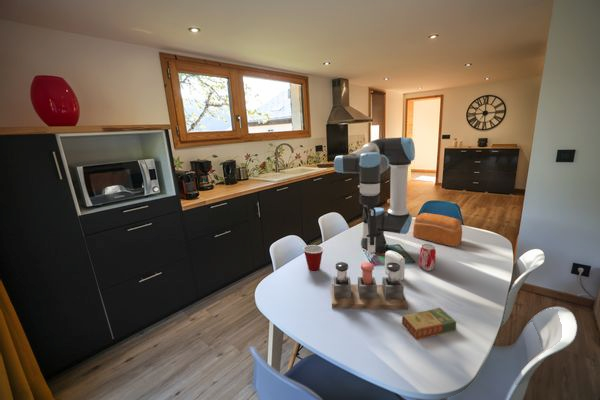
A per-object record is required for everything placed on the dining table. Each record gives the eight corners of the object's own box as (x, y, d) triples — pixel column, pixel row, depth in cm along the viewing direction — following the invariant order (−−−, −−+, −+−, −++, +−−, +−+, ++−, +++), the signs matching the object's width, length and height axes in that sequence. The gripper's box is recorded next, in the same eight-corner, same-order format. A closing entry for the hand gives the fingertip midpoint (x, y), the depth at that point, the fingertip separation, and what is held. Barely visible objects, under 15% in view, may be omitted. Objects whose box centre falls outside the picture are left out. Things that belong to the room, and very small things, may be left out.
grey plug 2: (383, 282, 112) (384, 263, 110) (395, 281, 113) (395, 261, 111) (389, 289, 107) (390, 269, 105) (401, 287, 108) (402, 267, 106)
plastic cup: (328, 267, 140) (327, 246, 137) (317, 276, 132) (316, 254, 129) (311, 262, 146) (310, 242, 143) (300, 270, 138) (298, 249, 135)
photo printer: (383, 272, 132) (383, 249, 129) (389, 269, 134) (390, 247, 131) (398, 282, 123) (400, 258, 120) (405, 279, 125) (406, 255, 122)
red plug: (358, 282, 114) (358, 263, 111) (370, 280, 114) (370, 261, 112) (363, 289, 109) (364, 269, 106) (375, 287, 109) (376, 267, 107)
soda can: (436, 272, 130) (438, 249, 127) (420, 271, 131) (422, 249, 128) (432, 265, 136) (433, 243, 133) (417, 264, 138) (419, 243, 135)
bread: (419, 231, 181) (421, 209, 177) (463, 241, 162) (465, 216, 158) (411, 237, 172) (412, 214, 168) (455, 248, 153) (458, 222, 149)
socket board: (331, 307, 108) (331, 290, 106) (331, 287, 122) (331, 272, 120) (407, 309, 105) (409, 291, 103) (399, 289, 118) (399, 273, 116)
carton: (401, 324, 98) (401, 314, 97) (439, 316, 101) (439, 306, 100) (415, 341, 90) (416, 330, 89) (456, 331, 93) (457, 320, 92)
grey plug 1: (334, 282, 115) (334, 263, 112) (345, 280, 116) (345, 261, 113) (338, 288, 110) (337, 269, 107) (350, 287, 111) (350, 267, 108)
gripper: (356, 186, 114) (356, 232, 119) (363, 202, 90) (363, 258, 95) (374, 186, 113) (373, 232, 118) (386, 201, 89) (384, 258, 94)
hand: (368, 244), depth 107 cm, fingers open, 13 cm apart
